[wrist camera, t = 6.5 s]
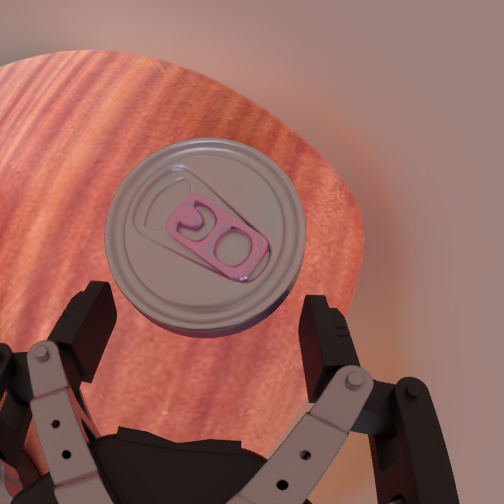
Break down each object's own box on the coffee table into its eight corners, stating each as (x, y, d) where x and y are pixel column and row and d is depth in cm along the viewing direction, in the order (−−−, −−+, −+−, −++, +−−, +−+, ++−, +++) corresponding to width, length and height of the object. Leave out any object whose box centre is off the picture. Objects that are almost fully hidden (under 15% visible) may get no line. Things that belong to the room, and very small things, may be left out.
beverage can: (233, 347, 22) (228, 386, 7) (167, 300, 22) (61, 249, 8) (279, 281, 23) (351, 201, 8) (214, 236, 24) (187, 103, 9)
